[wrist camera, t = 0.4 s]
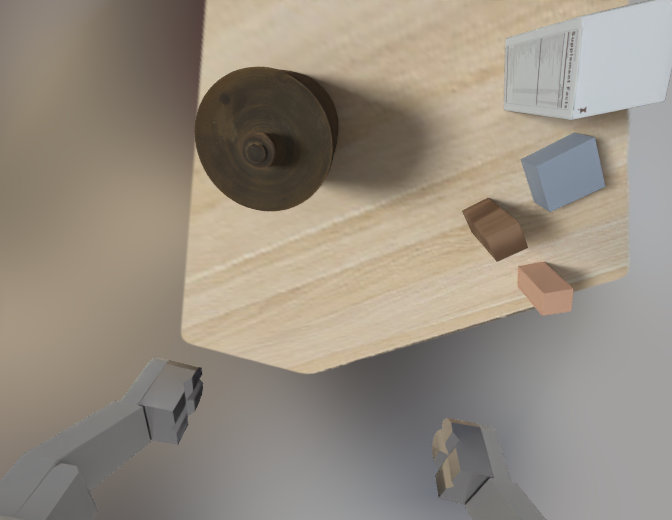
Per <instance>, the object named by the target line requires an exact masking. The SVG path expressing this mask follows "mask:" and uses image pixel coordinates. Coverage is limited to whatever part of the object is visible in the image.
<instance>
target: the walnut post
mask: <svg viewBox="0 0 672 520" xmlns="http://www.w3.org/2000/svg"><path fill="white" fill-rule="evenodd" d="M462 212H463V214H464V216H465V218H466V221H467V223H468V225H469V227H470V230H471V232H472V233H473V234H474V235H475V237H476V238H477V239H478V240H479V241H480V242H481V244H482V245H483V246H484V247H485V248H486V249H487V251H488V252H489V253H490V254H491V255H492V256H493V258H494V259H495V260H496V261H497V262H498V261H500V260H502V259H504V258H507V257H509V256H511V255H513V254H515V253H518V252H520V251H522V250H524V249H526V248H528V246H527V243H526V241H525V238H524V235H523V233H522V230H521V227H520V225H519V222H518V221H516V220H515V219H514V218H513V217H511V216H510V215H509V214H508V213H506V212H505V211H504V210H503V209H501V208H500V207H499V206H498V205H496V204H495V203H494V202H493V201H491V200H490V199H489V198H487V199H485V200H483V201H481V202H479V203H477V204H475V205H473V206H471V207H469V208H467V209H465V210H463V211H462Z"/></svg>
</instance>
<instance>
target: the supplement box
mask: <svg viewBox="0 0 672 520" xmlns="http://www.w3.org/2000/svg"><path fill="white" fill-rule="evenodd" d="M671 71H672V0H649V1H645V2H640V3H635V4H631V5H627V6H622V7H618V8H614V9H609V10H605V11H601V12H597V13H592V14H588V15H584V16H580V17H576V18H573V19H569V20H566V21H563V22H559V23H556V24H553V25H548V26H545V27H541V28H538V29H536V30H532V31H529V32H525V33H522V34H518V35H515V36H511V37H508V38H506V41H505V77H504V110H505V111H513V112H520V113H526V114H534V115H540V116H547V117H555V118H562V119H568V120H573V119H578V118H583V117H588V116H593V115H598V114H603V113H608V112H613V111H618V110H623V109H628V108H633V107H638V106H643V105H648V104H653V103H658V102H664V101H665V99H666V94H667V89H668V84H669V79H670V75H671Z"/></svg>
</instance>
